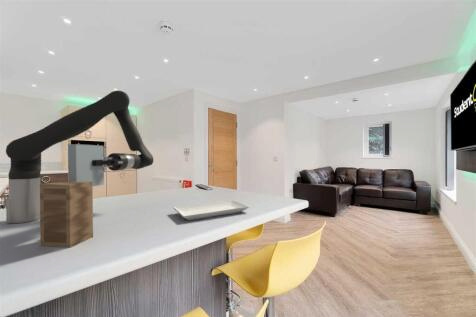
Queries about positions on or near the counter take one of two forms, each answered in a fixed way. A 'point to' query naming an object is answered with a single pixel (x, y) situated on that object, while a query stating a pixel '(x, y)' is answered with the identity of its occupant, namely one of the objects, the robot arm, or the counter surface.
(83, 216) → the cabinet
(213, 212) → the tray
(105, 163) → the robot arm
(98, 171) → the door
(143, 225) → the counter surface
